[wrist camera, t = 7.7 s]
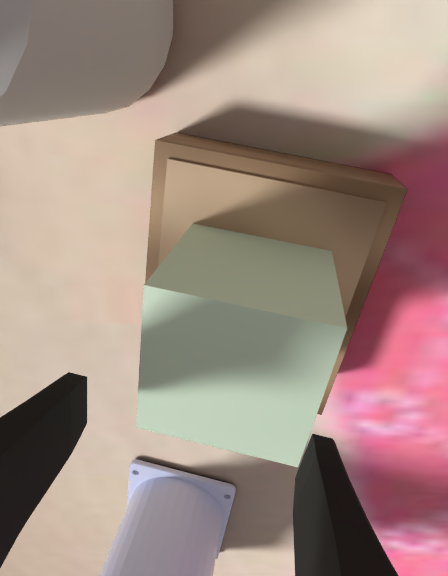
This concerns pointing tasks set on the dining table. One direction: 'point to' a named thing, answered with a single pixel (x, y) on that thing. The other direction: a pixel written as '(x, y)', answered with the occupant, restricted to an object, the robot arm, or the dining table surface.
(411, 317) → the dining table surface
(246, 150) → the brown shallow tray
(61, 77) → the can
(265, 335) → the green cube
